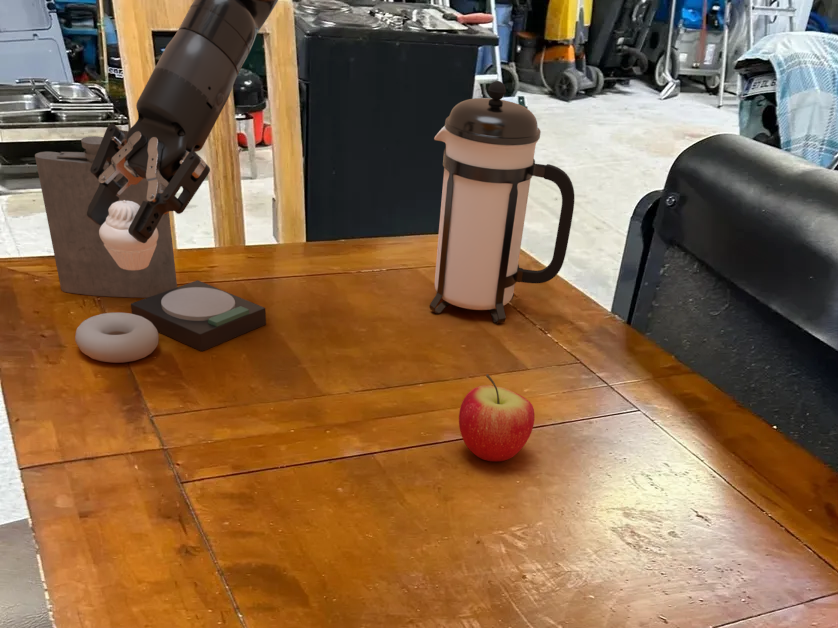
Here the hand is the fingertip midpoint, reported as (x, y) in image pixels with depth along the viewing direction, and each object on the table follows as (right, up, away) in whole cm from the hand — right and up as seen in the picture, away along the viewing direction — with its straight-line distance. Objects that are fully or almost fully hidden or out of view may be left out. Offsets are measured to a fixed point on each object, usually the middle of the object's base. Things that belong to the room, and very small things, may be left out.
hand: (115, 229), depth 95 cm
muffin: (+1, -3, +4) cm, 5 cm away
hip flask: (-11, +4, +31) cm, 33 cm away
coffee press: (+41, +5, +39) cm, 57 cm away
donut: (-6, -8, +18) cm, 21 cm away
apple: (+41, -23, +7) cm, 47 cm away
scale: (+2, -2, +26) cm, 26 cm away
